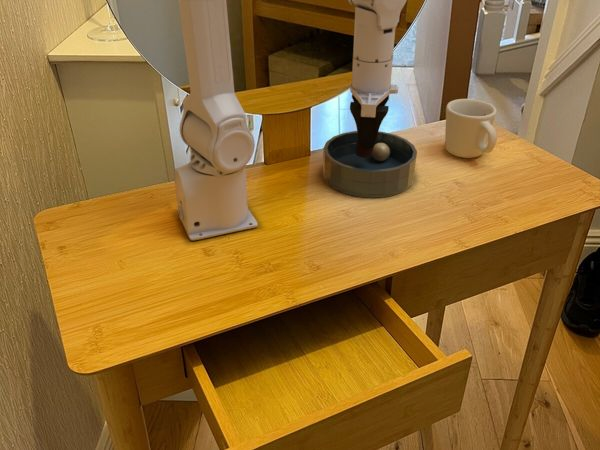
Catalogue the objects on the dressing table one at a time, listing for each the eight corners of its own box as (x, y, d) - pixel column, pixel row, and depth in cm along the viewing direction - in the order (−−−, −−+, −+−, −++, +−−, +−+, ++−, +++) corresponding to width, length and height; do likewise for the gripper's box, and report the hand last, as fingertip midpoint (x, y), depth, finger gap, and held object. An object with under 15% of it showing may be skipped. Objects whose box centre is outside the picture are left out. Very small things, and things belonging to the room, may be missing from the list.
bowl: (347, 205, 91) (348, 178, 88) (309, 163, 102) (309, 138, 99) (431, 187, 95) (434, 161, 93) (385, 149, 106) (388, 125, 104)
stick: (360, 159, 97) (369, 111, 92) (352, 151, 99) (360, 104, 94) (375, 157, 98) (384, 109, 94) (366, 149, 100) (374, 102, 95)
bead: (375, 156, 99) (390, 145, 99) (365, 146, 101) (380, 135, 101) (381, 168, 101) (395, 157, 101) (371, 158, 103) (385, 148, 103)
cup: (509, 165, 102) (518, 119, 97) (467, 173, 99) (475, 126, 95) (470, 138, 110) (477, 95, 106) (431, 145, 108) (437, 102, 103)
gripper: (401, 74, 83) (392, 165, 91) (400, 42, 95) (393, 125, 103) (348, 72, 84) (344, 162, 91) (354, 40, 96) (350, 122, 104)
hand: (367, 142), depth 97 cm, fingers closed on stick, 2 cm apart
